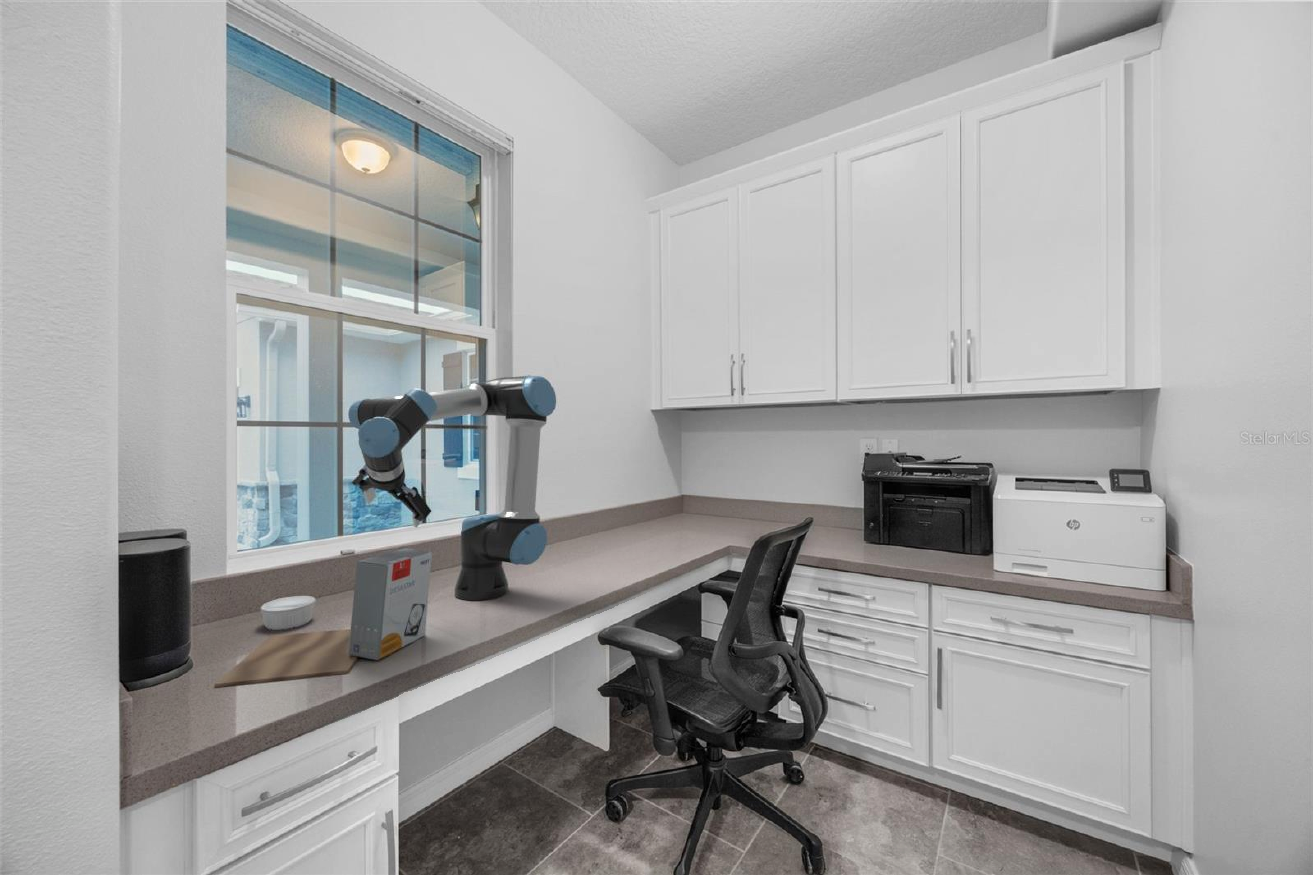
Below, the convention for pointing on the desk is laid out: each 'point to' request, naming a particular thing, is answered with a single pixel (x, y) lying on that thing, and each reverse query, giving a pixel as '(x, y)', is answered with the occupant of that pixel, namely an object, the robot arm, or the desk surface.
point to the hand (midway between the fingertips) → (395, 511)
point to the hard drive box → (389, 602)
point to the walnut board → (294, 658)
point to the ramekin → (288, 612)
